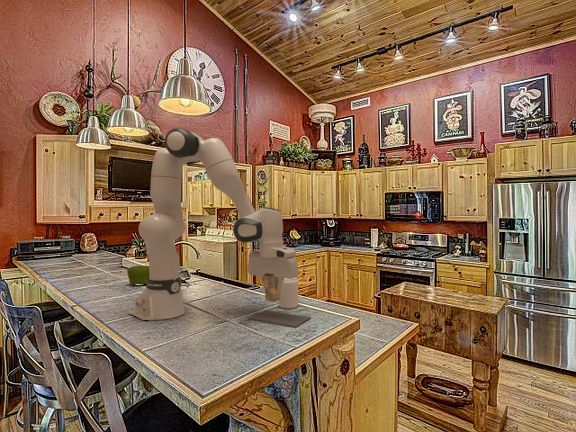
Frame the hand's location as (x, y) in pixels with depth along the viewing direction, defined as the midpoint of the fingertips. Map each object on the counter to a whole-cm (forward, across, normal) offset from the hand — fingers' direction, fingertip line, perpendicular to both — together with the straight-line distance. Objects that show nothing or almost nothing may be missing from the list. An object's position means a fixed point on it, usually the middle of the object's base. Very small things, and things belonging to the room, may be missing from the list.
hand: (272, 288), depth 124 cm
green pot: (+10, -98, +15) cm, 100 cm away
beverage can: (+11, -3, +16) cm, 19 cm away
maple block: (+4, 0, 0) cm, 4 cm away
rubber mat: (+11, +3, 0) cm, 11 cm away
